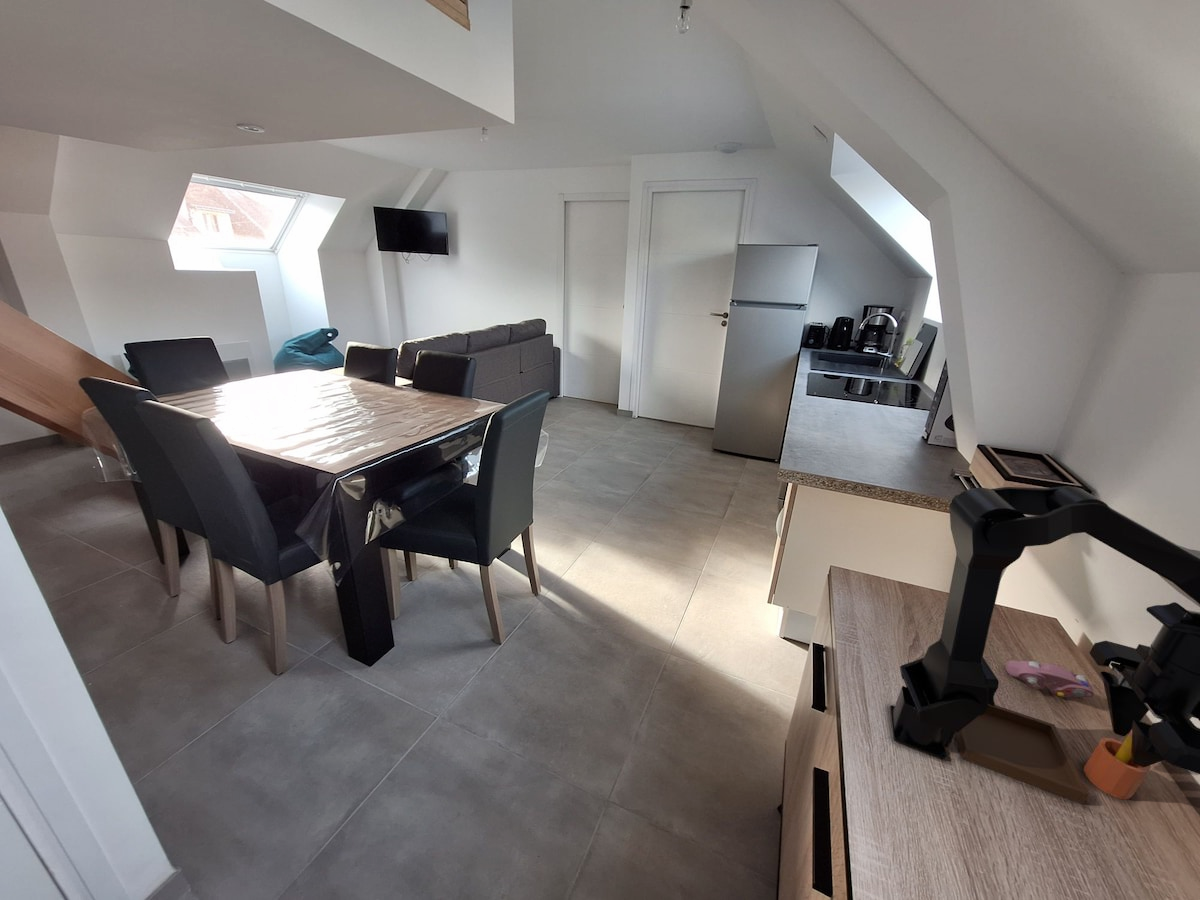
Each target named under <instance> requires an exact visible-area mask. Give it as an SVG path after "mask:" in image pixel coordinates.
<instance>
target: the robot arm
mask: <svg viewBox="0 0 1200 900" xmlns="http://www.w3.org/2000/svg"><path fill="white" fill-rule="evenodd" d="M1026 515H1028V516H1026ZM1029 515H1030V516H1029ZM949 522H950V523H949V524H950V525H949V526H950V532H951V535H952V539H953V544H954V547H955V553H956V556H955V561H954V565H953V572H952V576H951V582H950V586H949V592H948V597H947V602H946V608H945V613H944V618H943V622H942V623H943V624H942V629H941V635H940V637H939V639H938V640H937V641H936V642H934V643H932V644H931V645H929V646H928V648H927V649H926V652H925V654H924V656H923V657H922V658H918V659H916V660H913V661H910V662H908V663H905V664H902V665H900V666H899V670H900V676H901V679H902V680H903V682H904V684H905V685H902V686H901V688H900V691H899V694H898V697H897V699H896V701H895V704H894V705H893V704H892V705H890V706H889V716H890V724H891V730H892V738H893V740H894V742H896V743H898V744H902V745H904V746H907V747H909V748H912V749H915V750H917V751H919V752H922V753H923V754H924V753H925V754H926V755H927V754H928V755H930V756H932V757H935V758H937V759H940V760H944V761H945V760H946V759H947V752H946V748H949V747H950V746H951V743H952V741H953V738H954V737H955V732H959V731H961V730H962V729H963V728H964V727H965V726H967V725H968V724H969V723H970V722H972V721H973V720H974V719H975V718H977V717H978V716H979V715H983V714H984V713H985V712H986V711H987V709H988V707H989V704H990V705H991V706H995V705H996V703H995V700H994V699H995V695H996V693H997V691H998V689H999V683H1000V680H999V679H998V677H997V676H996V674H995V673H994V672H993V669H992V668H991V667H990V665H989V664H988V662H987V660H986V659H985V657H984V654H985V649H986V644H987V640H988V636H989V631H990V627H991V624H992V618H993V614H994V610H995V606H996V602H997V597H998V593H999V588H1000V584H1001V579H1002V575H1003V572H1004V570H1005V569H1006V568H1007V567H1009V566H1010V565H1012V564H1013V563H1015V562H1016V561H1018V560H1019V559H1020V558H1021V556H1022V555H1023V552H1024V550H1025V549H1026V547H1037V546H1047V545H1051V544H1053V543H1056V542H1057V541H1060V540H1062V539H1064V538H1066V537H1068V536H1070V535H1073V534H1082V533H1085V534H1087V535H1088V536H1090V537H1092V538H1093V539H1096V540H1097V541H1099V542H1101V543H1103V544H1104V545H1106V546H1108V547H1110V548H1111V549H1113V550H1115V551H1117V552H1118V553H1120V554H1121V555H1123V556H1125V557H1127V558H1129V559H1131V560H1133V561H1134V562H1136V563H1138V564H1140V565H1141V566H1143V567H1144V568H1147V569H1148V570H1150V571H1152V572H1154V573H1156V574H1157V575H1158V576H1159V577H1160V578H1161V579H1162V580H1163V581H1164V582H1166V583H1167V584H1168V585H1169V586H1171V587H1172V588H1173V589H1174V590H1175V591H1177V592H1178V593H1179V594H1181V595H1182V596H1183V597H1185V598H1186V599H1187V600H1189V601H1190V602H1192V603H1193V604H1195V605H1196V606H1197V607H1199V608H1200V550H1196V549H1191V548H1187V547H1185V546H1181V545H1179V544H1177V543H1175V542H1173V541H1171V540H1170V539H1168V538H1166V537H1164V536H1162V535H1160V534H1159V533H1157V532H1155V531H1153V530H1151V529H1150V528H1148V527H1146V526H1144V525H1143V524H1141V523H1139V522H1137V521H1135V520H1134V519H1132V518H1130V517H1128V516H1127V515H1125V514H1123V513H1121V512H1120V511H1118V510H1116V509H1114V508H1112V507H1110V506H1109V505H1108V504H1107V503H1106V502H1104V501H1102V500H1101V499H1099V498H1098V497H1097V496H1094V495H1093V494H1091V493H1090V492H1088V491H1086V490H1084V489H1083V488H1081V487H1077V486H1071V485H1062V486H1053V487H1045V488H1044V487H1043V488H1041V487H1019V486H1003V487H996V488H986V487H972V488H969V489H966V490H963V491H962V492H960V493H959V494H956V495H954V496H953V498H952V499H951V502H950V504H949ZM1145 610H1146V612H1147V613H1148V614H1150V615H1151V617H1153V618H1154V619H1156V620H1157V621H1158V622H1160V623H1161V624H1162V626H1161V627H1160V630H1159V631H1158V632H1157V634H1156V635H1155V637H1154V639H1153V640H1152V641H1151V644H1150V645H1149V646H1148V645H1145V644H1140V643H1138V645H1137V646H1136V648H1135V647H1132V646H1127V645H1124V644H1120V643H1117V642H1113V641H1109V640H1103V641H1098V642H1094V644H1093V646H1092V647H1091V649H1090V651H1089V655H1090V656H1091V658H1092V659H1093V660H1094V662H1095V663H1096V665H1097V666H1099V667H1104V668H1105V667H1109V666H1111V668H1110V671H1109V672H1107V671H1104V670H1102V671H1100V673H1099V675H1100V677H1101V679H1102V683H1103V687H1104V692H1105V696H1106V703H1107V706H1108V711H1109V717H1110V723H1111V727H1112V728H1111V729H1112V732H1113V733H1114V734H1115V735H1117V736H1119V737H1127V736H1128V735H1129V733H1130V731H1131V729H1132V748H1131V756H1132V762H1133V764H1135V765H1138V766H1141V767H1147V766H1153V765H1155V764H1158V763H1160V762H1163V761H1165V762H1167V763H1168V764H1170V765H1171V766H1174V767H1176V768H1180V769H1182V770H1186V771H1189V772H1192V773H1195V774H1198V775H1200V727H1197V726H1196V725H1195V723H1194V722H1193V721H1192V718H1195V719H1197V720H1198V721H1199V722H1200V611H1196V610H1195V611H1194V610H1189V609H1186V608H1185V607H1183V606H1182V605H1181V604H1179V603H1178V602H1176V601H1175V602H1170V603H1166V604H1156V605H1152V606H1148V607H1146V609H1145ZM1148 712H1150V713H1151V715H1153V717H1155V719H1159V720H1160V721H1158V722H1152V724H1150V723H1146V722H1143V721H1141V720H1142V719H1143V718H1144V717H1145V716H1146V715H1147V713H1148Z"/></svg>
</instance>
